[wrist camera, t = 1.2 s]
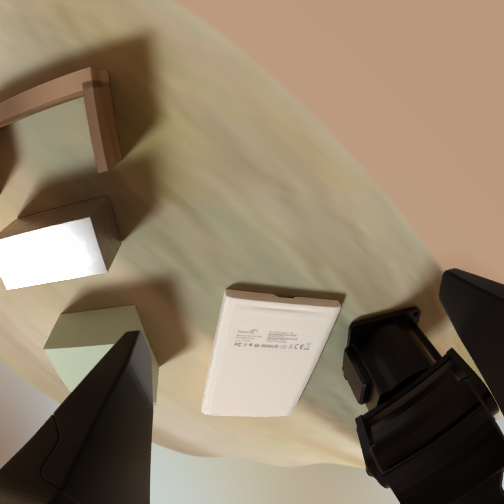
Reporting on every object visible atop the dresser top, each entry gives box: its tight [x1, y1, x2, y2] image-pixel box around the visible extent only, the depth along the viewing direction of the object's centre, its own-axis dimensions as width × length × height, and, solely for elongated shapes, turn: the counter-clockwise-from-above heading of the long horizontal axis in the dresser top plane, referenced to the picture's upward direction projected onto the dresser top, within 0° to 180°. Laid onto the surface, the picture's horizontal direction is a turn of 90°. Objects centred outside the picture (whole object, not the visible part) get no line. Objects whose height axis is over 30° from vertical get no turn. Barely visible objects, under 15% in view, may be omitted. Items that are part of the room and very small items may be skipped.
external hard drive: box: [201, 289, 341, 417], centre depth 24 cm, size 2×8×12 cm
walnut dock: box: [0, 67, 123, 173], centre depth 13 cm, size 10×5×3 cm, turn 96°
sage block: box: [43, 305, 159, 405], centre depth 20 cm, size 6×6×4 cm
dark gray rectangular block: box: [0, 196, 122, 289], centre depth 16 cm, size 7×3×4 cm, turn 96°
